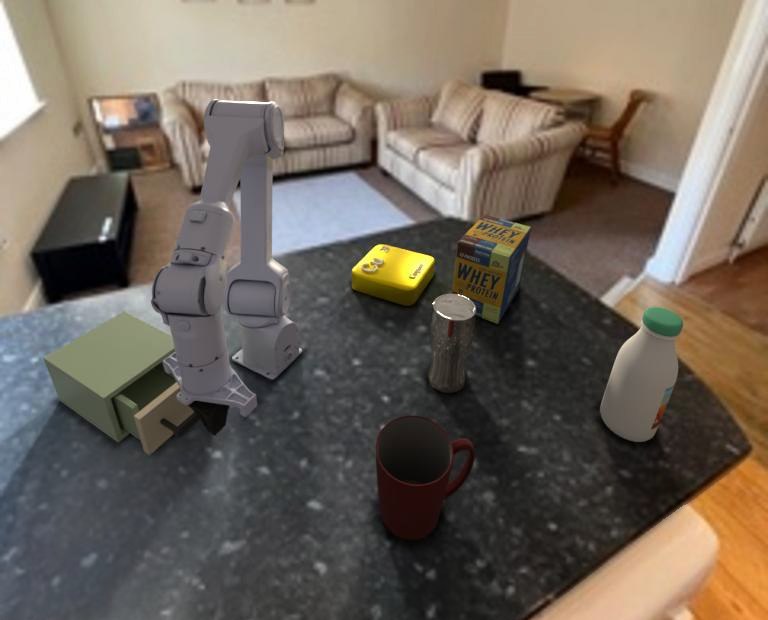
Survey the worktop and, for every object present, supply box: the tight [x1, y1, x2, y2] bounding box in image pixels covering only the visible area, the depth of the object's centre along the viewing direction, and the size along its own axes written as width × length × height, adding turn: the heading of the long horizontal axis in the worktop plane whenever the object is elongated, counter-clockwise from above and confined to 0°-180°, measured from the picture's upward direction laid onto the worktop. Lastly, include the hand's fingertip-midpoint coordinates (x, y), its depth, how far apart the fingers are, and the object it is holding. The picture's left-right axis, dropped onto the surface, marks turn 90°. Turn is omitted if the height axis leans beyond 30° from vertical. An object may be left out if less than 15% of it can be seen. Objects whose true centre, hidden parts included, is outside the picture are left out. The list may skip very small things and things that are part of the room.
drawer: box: [111, 362, 201, 456], centre depth 65 cm, size 18×11×7 cm, turn 61°
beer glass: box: [427, 293, 477, 394], centre depth 72 cm, size 7×7×15 cm
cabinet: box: [42, 311, 175, 443], centre depth 69 cm, size 15×13×9 cm
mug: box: [375, 415, 476, 541], centre depth 54 cm, size 12×9×11 cm
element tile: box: [351, 243, 436, 307], centre depth 100 cm, size 15×15×5 cm
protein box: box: [451, 214, 532, 325], centre depth 93 cm, size 10×15×16 cm
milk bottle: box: [599, 306, 684, 443], centre depth 64 cm, size 8×8×20 cm
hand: (216, 427), depth 60 cm, fingers closed
